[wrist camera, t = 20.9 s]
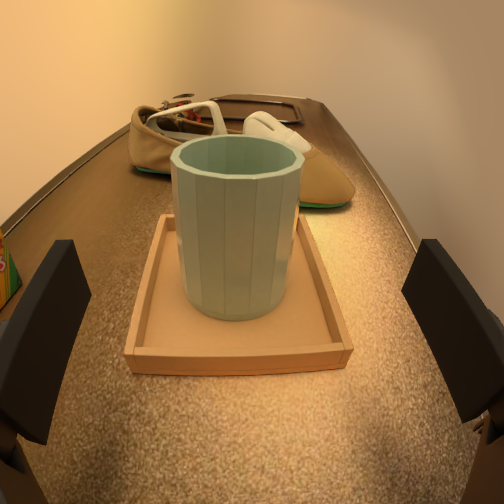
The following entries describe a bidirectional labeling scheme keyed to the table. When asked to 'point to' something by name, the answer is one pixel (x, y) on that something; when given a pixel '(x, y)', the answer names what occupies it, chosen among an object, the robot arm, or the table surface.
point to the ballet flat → (258, 124)
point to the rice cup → (235, 221)
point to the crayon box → (7, 273)
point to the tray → (235, 332)
